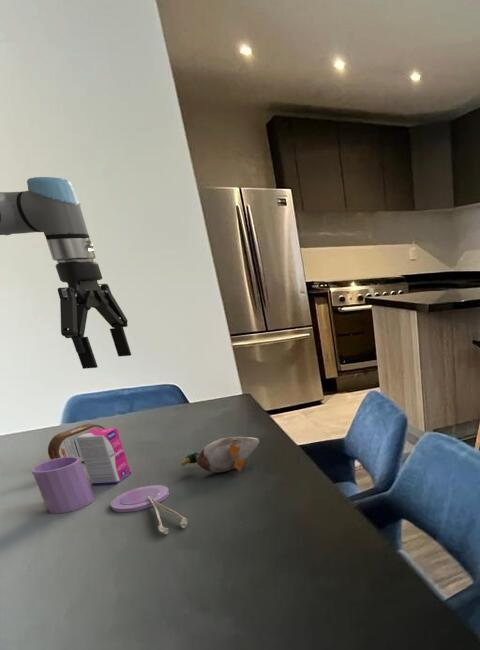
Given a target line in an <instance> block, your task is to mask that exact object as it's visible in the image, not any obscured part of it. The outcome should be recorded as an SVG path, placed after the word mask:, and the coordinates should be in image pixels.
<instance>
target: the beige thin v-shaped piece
mask: <svg viewBox="0 0 480 650" xmlns="http://www.w3.org/2000/svg"><path fill="white" fill-rule="evenodd" d="M147 497H148V498H149V500H150V501H151V503H152V505H153V506H152V507H153V509H154V511H155V514H156V517H157V520H158V526H157V529H158V531H159V532H160V533H162V534H163V535H169V530H170V528H169V527H165V526H163V523H162V520H161V516H160V512H159V510H158V509H160V511H162V512H165V513H167V514H168V515H170V516H172V518H174V519H176V520H178V521H179V522H180V523H179V525H180V527H181V528H182V529H185V528H186V527H187V525H188V519H187V518H186V517H185V516H182V515H181V514H180V513H178V512H176V511H175V510H174V509H171V508H169V507H168V506H165V505H163V504H162V503H161V502H160V503H158V502H156V501H155V500H153V499H152V498H151V497H150V496H147Z"/></svg>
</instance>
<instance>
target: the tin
mask: <svg viewBox="0 0 480 650" xmlns="http://www.w3.org/2000/svg"><path fill="white" fill-rule="evenodd" d="M92 429H106V428H105V427H104V426H102V425H100V424H94V423H84V424H82V425H81V424H80V425H79V426H76V427H73V428H71V429H67V430H65V431H62V432H59V433H57V434H55V435H54V436H53V437H52V438H51V439H50V441H49V443H48V446H47V454H48V457H49V460H53V459H57V458H62V457H71V456H73V457H78V458H80V460H81V463H82V464H84V460H83V457H82V454H81V451H80V448H79V445H78V442H77V439H76V437H78V436H80V435H82V434H84V433H86V432H88V431H90V430H92Z"/></svg>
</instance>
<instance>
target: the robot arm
mask: <svg viewBox="0 0 480 650" xmlns="http://www.w3.org/2000/svg"><path fill="white" fill-rule="evenodd" d="M26 184H27V190H23V191H0V236H11V235H18V234H29V233H30V234H31V233H43V235H44V237H45V240H46V243H47V246H48V249H49V252H50V255H51V259H52V260H53V261H55V262H56V263H55V265H54V266H55V269H56V272H57V275H58V278H59V280H60V282H61V283H66V284H67V286H65V287H57V293H58V296H59V304H60V307H59V308H60V309H59V310H60V334H61V336H63V337H64V338H66V339H71V341H72V343H73V346H74V349H75V352H76V354H77V356H78V359H79V362H80V365H81V367H82V370H85V369H87V370H88V369H96V368H98V367H99V366H98V363H97V361H96V358H95V354H94V351H93V349H92V345H91V343H90V340H89V336H85V331H86V325H87V319H88V313H89V311H90V310H91V309H92V308H93V309H95V310H96V311H97V312H98V313H99V315H101V317H102V318H103V319H104V320H105V321H106V323H108V325H109V326H110V327H111V328H109V331H110V335H111V338H112V341H113V345H114V347H115V351H116V353H117V357H130V356H132V352H131V349H130V346H129V342H128V338H127V336H126V332H125V329H124V328H127V327H128V323H129V321H128V319H127V317H126V315H125V313H124V312H123V310H122V309H121V307H120V305H119V303H118V302H117V300H116V298H115V297H114V295H113V294H112V291H111V289H110V286H109V284H108V283H99V282H98V281H101V280H102V279H103V276H102V271H101V269H100V266H99V263H98V262H97V261H94V260H95V259H96V258H97V257H96V254H95V250H94V244H93V243H92V241H91V237H90V234H89V232H88V229H87V224H86V222H85V218H84V215H83V211H82V208H81V202H80V201H79V198H78V196H77V193H76V190H75V188H74V186H73V184H72V182H70V180H68V179H65V178H62V177H52V176H35V177H30V178H28V179H27V180H26Z"/></svg>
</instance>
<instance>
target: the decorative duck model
mask: <svg viewBox="0 0 480 650" xmlns="http://www.w3.org/2000/svg"><path fill="white" fill-rule="evenodd" d="M259 443H260V439H259V438H257V437H252V436H241V435H240V436H238V435H235V436H224V437H220V438H216V439H214V440H212V441H211V442H210V443H208V444H207V445H205V447H203V449H202V450H201V452H200V453H199V452H197V451H193V452H190V453H188V454H187V455H186V457H185V458H184V459H183V461H181V462H180V465H181V467H185V466H186V465H188V464H197V465H198V466H199V467H200V468H202V469H204V470H205V471H208V472H211V473H225V472H230V471H233V470H235V469H236V470H238V472H241V471H242V468H243V466H244V465H245V463H246V462H247V461H248V459H249V458H250V457H251V456H252V455H253V453H254V452H255V450H256V449H257V448H258V445H259Z"/></svg>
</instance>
